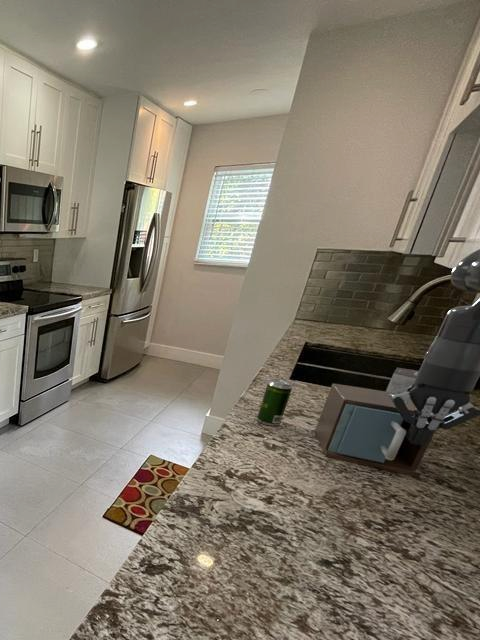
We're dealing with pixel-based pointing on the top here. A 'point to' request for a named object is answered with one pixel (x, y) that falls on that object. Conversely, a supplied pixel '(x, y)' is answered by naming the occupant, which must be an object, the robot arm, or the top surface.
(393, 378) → the coffee box
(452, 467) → the top surface
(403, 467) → the display cabinet
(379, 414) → the glass door
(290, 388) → the beer can
